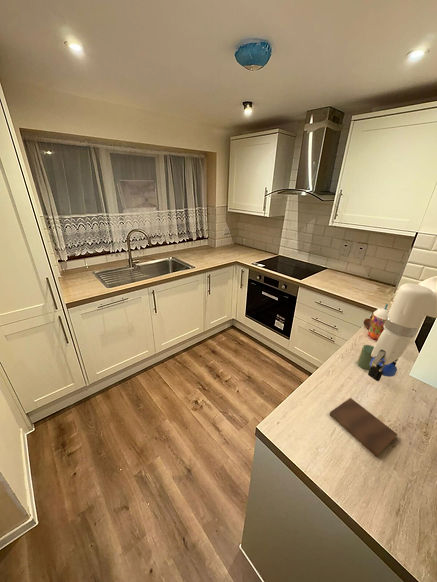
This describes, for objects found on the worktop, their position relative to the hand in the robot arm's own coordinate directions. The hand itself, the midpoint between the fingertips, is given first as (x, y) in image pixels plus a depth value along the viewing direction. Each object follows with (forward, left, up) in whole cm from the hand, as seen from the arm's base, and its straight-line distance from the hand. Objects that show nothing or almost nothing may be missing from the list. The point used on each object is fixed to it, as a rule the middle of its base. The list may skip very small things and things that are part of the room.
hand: (380, 373), depth 74 cm
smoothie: (+23, -52, -20) cm, 61 cm away
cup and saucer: (+28, -61, -20) cm, 70 cm away
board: (-2, +4, -20) cm, 20 cm away
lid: (0, 0, +3) cm, 3 cm away
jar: (+14, -26, -20) cm, 36 cm away
